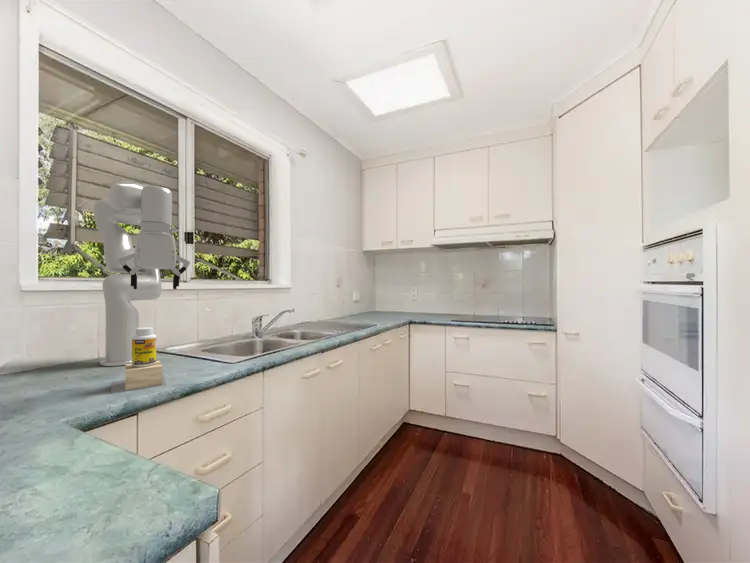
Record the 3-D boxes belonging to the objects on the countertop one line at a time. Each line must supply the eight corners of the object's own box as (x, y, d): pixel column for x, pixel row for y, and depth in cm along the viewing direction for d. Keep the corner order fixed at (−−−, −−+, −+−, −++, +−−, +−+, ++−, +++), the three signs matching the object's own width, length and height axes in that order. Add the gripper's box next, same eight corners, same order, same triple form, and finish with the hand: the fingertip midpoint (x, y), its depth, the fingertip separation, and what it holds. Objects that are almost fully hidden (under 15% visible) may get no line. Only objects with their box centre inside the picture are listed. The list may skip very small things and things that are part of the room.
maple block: (125, 382, 93) (125, 364, 93) (159, 377, 98) (159, 360, 98) (125, 390, 87) (125, 370, 87) (162, 384, 92) (162, 366, 92)
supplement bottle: (130, 368, 89) (130, 330, 89) (132, 364, 94) (132, 327, 94) (155, 366, 92) (156, 328, 92) (156, 361, 96) (156, 326, 96)
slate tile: (112, 385, 94) (112, 381, 94) (162, 378, 101) (162, 374, 101) (110, 397, 84) (110, 393, 84) (166, 388, 91) (166, 384, 91)
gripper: (188, 234, 106) (187, 288, 106) (119, 228, 96) (118, 288, 96) (191, 231, 99) (190, 289, 100) (118, 225, 89) (117, 289, 90)
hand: (155, 289), depth 98 cm, fingers open, 9 cm apart
